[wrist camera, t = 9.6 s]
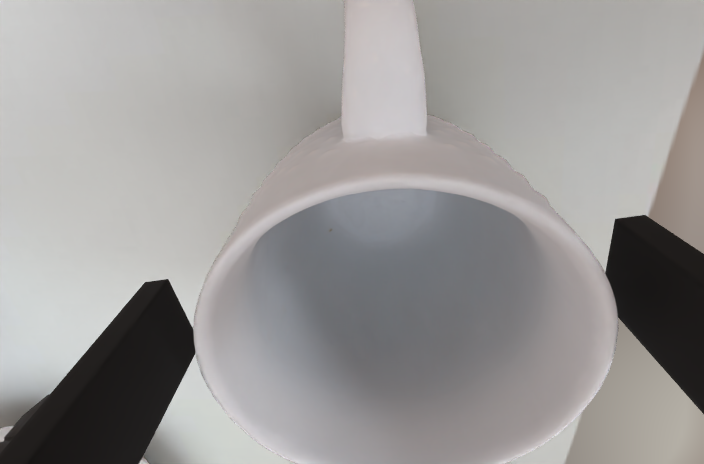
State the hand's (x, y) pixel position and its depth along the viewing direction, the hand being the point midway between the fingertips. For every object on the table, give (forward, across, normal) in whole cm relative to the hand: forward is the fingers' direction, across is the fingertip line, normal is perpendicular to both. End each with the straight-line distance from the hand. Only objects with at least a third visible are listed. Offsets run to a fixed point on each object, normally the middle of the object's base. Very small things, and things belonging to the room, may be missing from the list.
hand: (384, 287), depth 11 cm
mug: (+11, 0, 0) cm, 11 cm away
